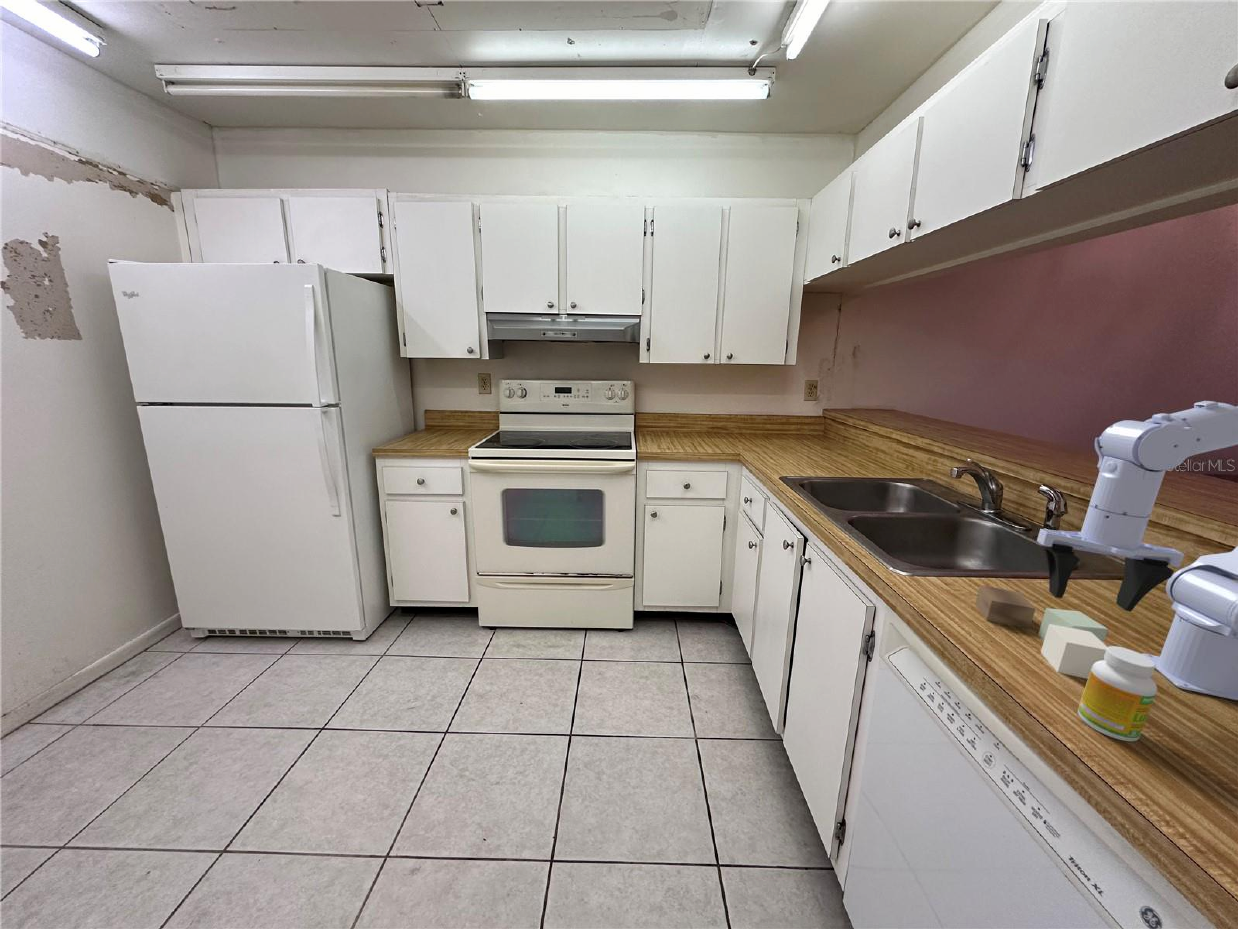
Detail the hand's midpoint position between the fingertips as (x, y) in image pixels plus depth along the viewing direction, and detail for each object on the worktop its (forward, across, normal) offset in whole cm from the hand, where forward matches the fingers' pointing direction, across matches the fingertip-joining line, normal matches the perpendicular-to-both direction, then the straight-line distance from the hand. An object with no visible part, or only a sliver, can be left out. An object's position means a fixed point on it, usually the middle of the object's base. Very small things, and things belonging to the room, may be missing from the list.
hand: (1088, 601), depth 66 cm
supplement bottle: (+11, -2, -13) cm, 17 cm away
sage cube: (+11, +3, +7) cm, 13 cm away
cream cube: (+11, 0, 0) cm, 11 cm away
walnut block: (+11, -4, +13) cm, 17 cm away
